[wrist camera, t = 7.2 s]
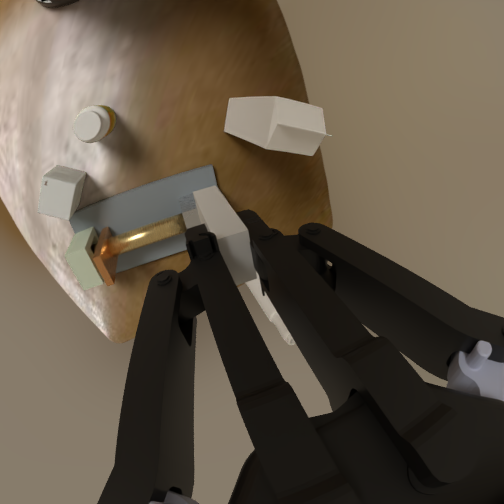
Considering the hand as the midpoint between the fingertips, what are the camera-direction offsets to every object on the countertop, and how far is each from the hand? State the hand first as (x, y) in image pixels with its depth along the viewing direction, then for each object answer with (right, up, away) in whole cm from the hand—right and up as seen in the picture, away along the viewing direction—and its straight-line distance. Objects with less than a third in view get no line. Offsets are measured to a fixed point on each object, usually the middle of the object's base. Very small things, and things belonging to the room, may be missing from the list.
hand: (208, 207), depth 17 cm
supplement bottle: (-21, +18, +17) cm, 33 cm away
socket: (-26, -2, +26) cm, 37 cm away
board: (-16, +2, +29) cm, 33 cm away
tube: (-16, +1, +27) cm, 32 cm away
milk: (+1, +20, +25) cm, 32 cm away
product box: (-28, +9, +20) cm, 36 cm away
